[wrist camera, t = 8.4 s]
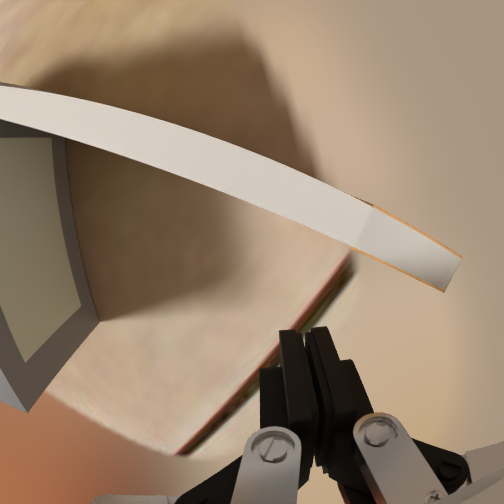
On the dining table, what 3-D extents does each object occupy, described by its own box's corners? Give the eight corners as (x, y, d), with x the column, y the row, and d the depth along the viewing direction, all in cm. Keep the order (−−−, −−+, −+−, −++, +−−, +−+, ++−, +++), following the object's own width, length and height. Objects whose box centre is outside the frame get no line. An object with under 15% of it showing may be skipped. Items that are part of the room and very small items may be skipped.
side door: (63, 119, 13) (-50, 112, 5) (70, 97, 13) (-40, 77, 4) (352, 226, 15) (443, 299, 7) (363, 202, 14) (466, 253, 6)
